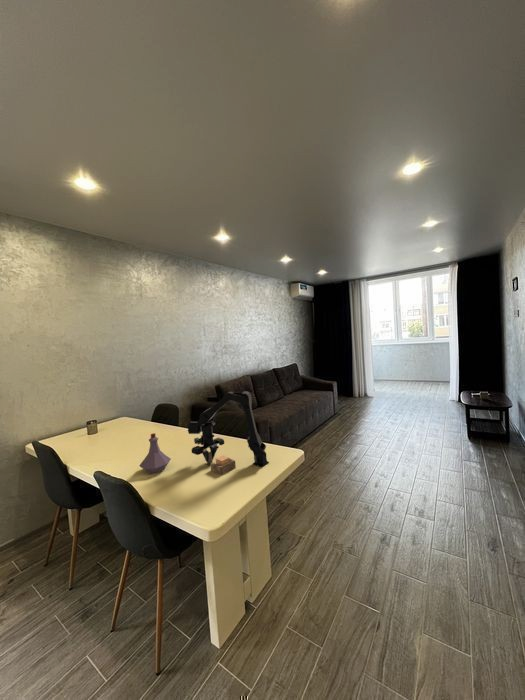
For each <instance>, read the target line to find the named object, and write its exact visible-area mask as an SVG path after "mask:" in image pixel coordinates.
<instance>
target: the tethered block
mask: <svg viewBox="0 0 525 700" xmlns="http://www.w3.org/2000/svg"><path fill="white" fill-rule="evenodd" d="M229 458H230V457H229V456H226V455H221V456H219V457H216V458H215V464H217V465H219V466H223V465H225V464H227V463H229ZM210 463H214V462H213V460H212V452H210V451H209V456H208V462H206V464H207V465H208V466H211V465H210Z"/></svg>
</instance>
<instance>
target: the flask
mask: <svg viewBox="0 0 525 700" xmlns="http://www.w3.org/2000/svg"><path fill="white" fill-rule="evenodd" d="M158 440H159V437H157V436H156V433H155V432H154V433H151V434H150V438H149V439H148V441H149V449H148V453H147V455H146V456H145V457H144V459H143V460H142V462H141V463H140V464H139V465H138V466H139V467H140V468H141V469H143V470H144V471H145V472H146V473H148V475H149V474H150V475H152V474H153V475H154V474H158V473H159V474H160V473H161V472H163V471H164V470H165V469H166V468H167V466H168V465H169V463H170V461H171V460H172V459H171V458H170V457H169V456H168V455H166V454H165V453H164V452H162V450H161V449H160V446H159V444H158Z"/></svg>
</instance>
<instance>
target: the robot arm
mask: <svg viewBox="0 0 525 700" xmlns="http://www.w3.org/2000/svg"><path fill="white" fill-rule="evenodd" d="M252 399H253V398H252V394H251V392H250V391H246V390H244V391H228V392H226V394H225V395H224V396H223V397H222V398H221V399H219V400H218V401H217V402H216V403H215V404H214V405H212V406H211V407H209V408H207V409H206V410H205V411H203V412H202V413H201V414H200V415H199V418H198V421H190V422H189V425H188V428H187V433H188V434H189V435H200V434H201V435H200V438H199V437H195V438H193V442H194V444H195V445H196V444H197V445H196V446H193V447H191V454H194V455H196V456H199V455H203V458H204V460H205V461H206V463H207V462H208V456H209V452H212V461H213V460H214V458H215V455H216V453H217V452H218V451H217V450H218V449H219V448H220V447H219V446H223V445H225V440H224V439H223V438H220V437H216V438H215V439H214V437H215V434H214V432H213V427H214V426H215V425H216V422H215V421H213V420H211V419H213V418H214V416H215V415H216V413H217V412H218V411H220V410H221V408H223V407H224V406H225V405H226V404H227V403H229V402H230V401H233V402H237V403H239V405H240V406H241V408H242V410H243V412H244V416H245V421H246V425H247V429H248V435H249V436H248V437H247V439H246V443H247V445H248V446H247V447H248V448H249V450H250V451H252V453H253V460H254V462H252V465H254V466H257V467H259V468H262V467H264V466H265V465H267V464H269V463H270V461H268V459H267V452H266V448H267V445H266V444H265V443H264V442H263V441H262V438H261V436H260V434H259V432H258V430H257V426H256V421H255V417H254V413H253V409H252V404H253V403H252V402H253V400H252ZM200 445H201V446H200ZM218 445H219V446H218ZM208 448H209V450H210V451H209V450H208Z"/></svg>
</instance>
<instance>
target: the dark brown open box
mask: <svg viewBox="0 0 525 700" xmlns="http://www.w3.org/2000/svg"><path fill="white" fill-rule="evenodd" d="M209 466H210V471H212V472H213V473H215V474H218V475H220V476H223V475H225V474H227V473H228V472H230V471H233V470H235V469H236V468H237V467H236V466H237V465H236V460H235V459H232V458H230V457H229V463H227V464H225V465H223V466H219V465H217V464H216V462H213V463H210V465H209Z"/></svg>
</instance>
